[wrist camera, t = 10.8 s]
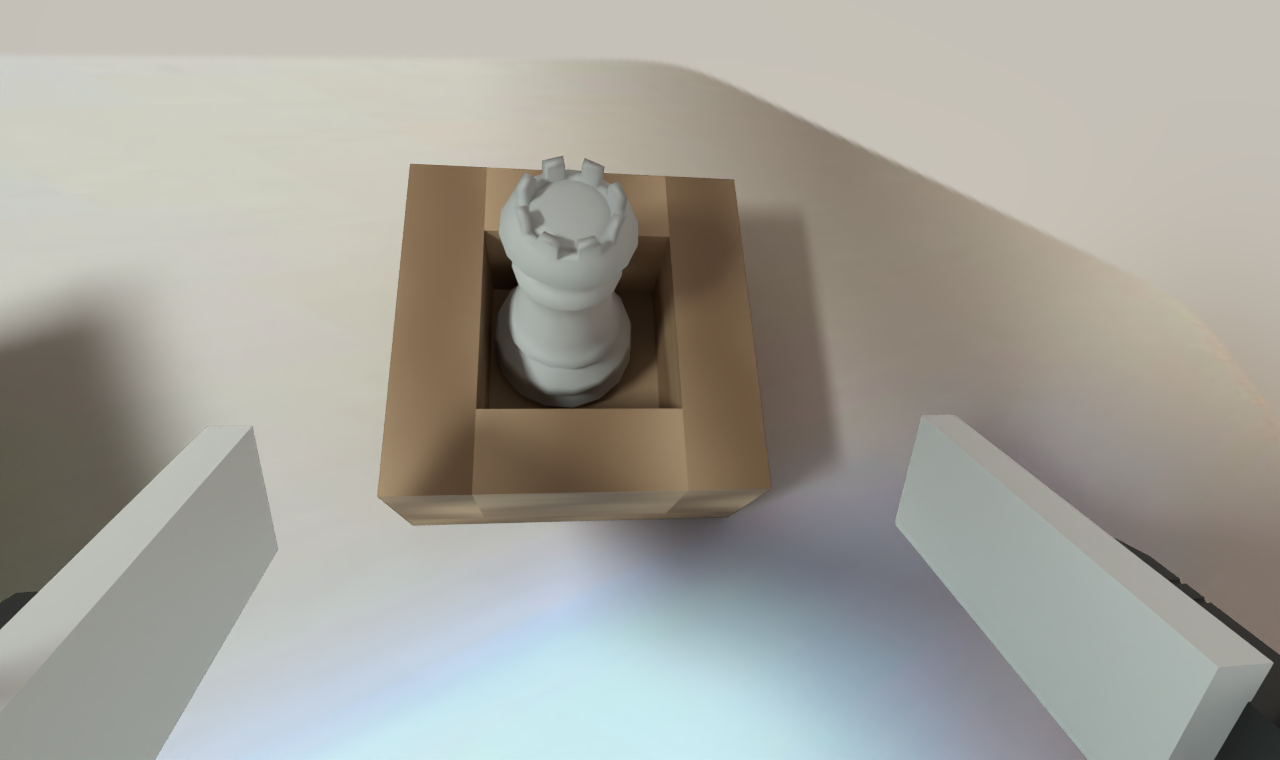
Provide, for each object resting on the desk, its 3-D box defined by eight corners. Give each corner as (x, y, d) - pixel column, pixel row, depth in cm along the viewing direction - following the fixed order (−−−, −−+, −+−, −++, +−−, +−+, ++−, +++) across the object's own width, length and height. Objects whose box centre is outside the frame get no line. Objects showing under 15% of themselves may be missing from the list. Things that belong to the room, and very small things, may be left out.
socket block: (412, 525, 20) (377, 496, 16) (434, 246, 24) (410, 163, 19) (727, 517, 21) (771, 488, 17) (702, 255, 25) (733, 179, 21)
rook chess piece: (550, 267, 23) (551, 90, 15) (654, 338, 22) (707, 192, 15) (466, 360, 21) (422, 213, 14) (577, 439, 21) (593, 330, 13)
